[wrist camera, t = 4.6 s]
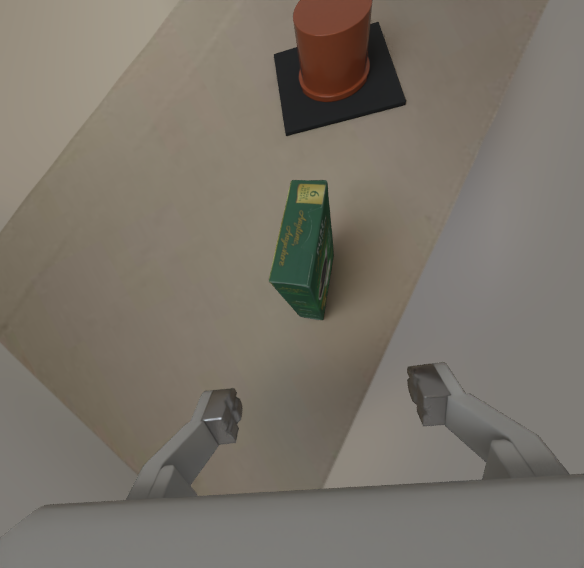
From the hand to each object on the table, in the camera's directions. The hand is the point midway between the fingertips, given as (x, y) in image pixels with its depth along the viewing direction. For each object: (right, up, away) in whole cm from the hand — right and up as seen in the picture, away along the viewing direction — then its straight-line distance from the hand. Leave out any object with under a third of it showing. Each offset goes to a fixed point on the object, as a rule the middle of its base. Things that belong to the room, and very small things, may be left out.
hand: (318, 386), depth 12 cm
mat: (+5, +34, +25) cm, 43 cm away
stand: (+5, +35, +24) cm, 42 cm away
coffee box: (+2, +5, +17) cm, 18 cm away
